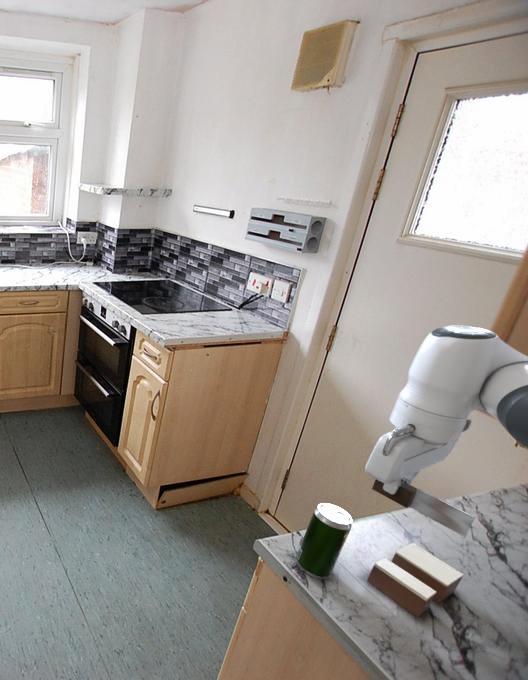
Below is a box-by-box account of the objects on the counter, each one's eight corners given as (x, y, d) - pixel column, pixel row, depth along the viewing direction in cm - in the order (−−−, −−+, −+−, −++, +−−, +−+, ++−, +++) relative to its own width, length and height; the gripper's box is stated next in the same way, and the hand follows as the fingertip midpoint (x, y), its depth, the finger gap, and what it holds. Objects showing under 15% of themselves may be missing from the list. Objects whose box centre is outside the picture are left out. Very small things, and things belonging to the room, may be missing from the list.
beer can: (297, 573, 79) (320, 518, 75) (292, 551, 84) (313, 498, 80) (333, 585, 77) (358, 529, 73) (326, 561, 82) (348, 508, 78)
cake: (453, 592, 78) (463, 574, 77) (437, 603, 76) (447, 585, 74) (404, 559, 84) (412, 542, 83) (387, 568, 82) (396, 551, 81)
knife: (468, 534, 73) (477, 515, 72) (461, 538, 72) (471, 519, 71) (378, 486, 84) (385, 468, 82) (371, 489, 83) (378, 471, 81)
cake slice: (426, 609, 74) (437, 591, 73) (417, 617, 73) (427, 598, 71) (376, 574, 80) (384, 557, 79) (366, 580, 79) (374, 562, 78)
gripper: (415, 442, 68) (383, 516, 73) (477, 419, 77) (444, 486, 82) (370, 421, 74) (342, 491, 78) (432, 402, 83) (404, 466, 87)
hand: (395, 488), depth 80 cm, fingers closed on knife, 2 cm apart
